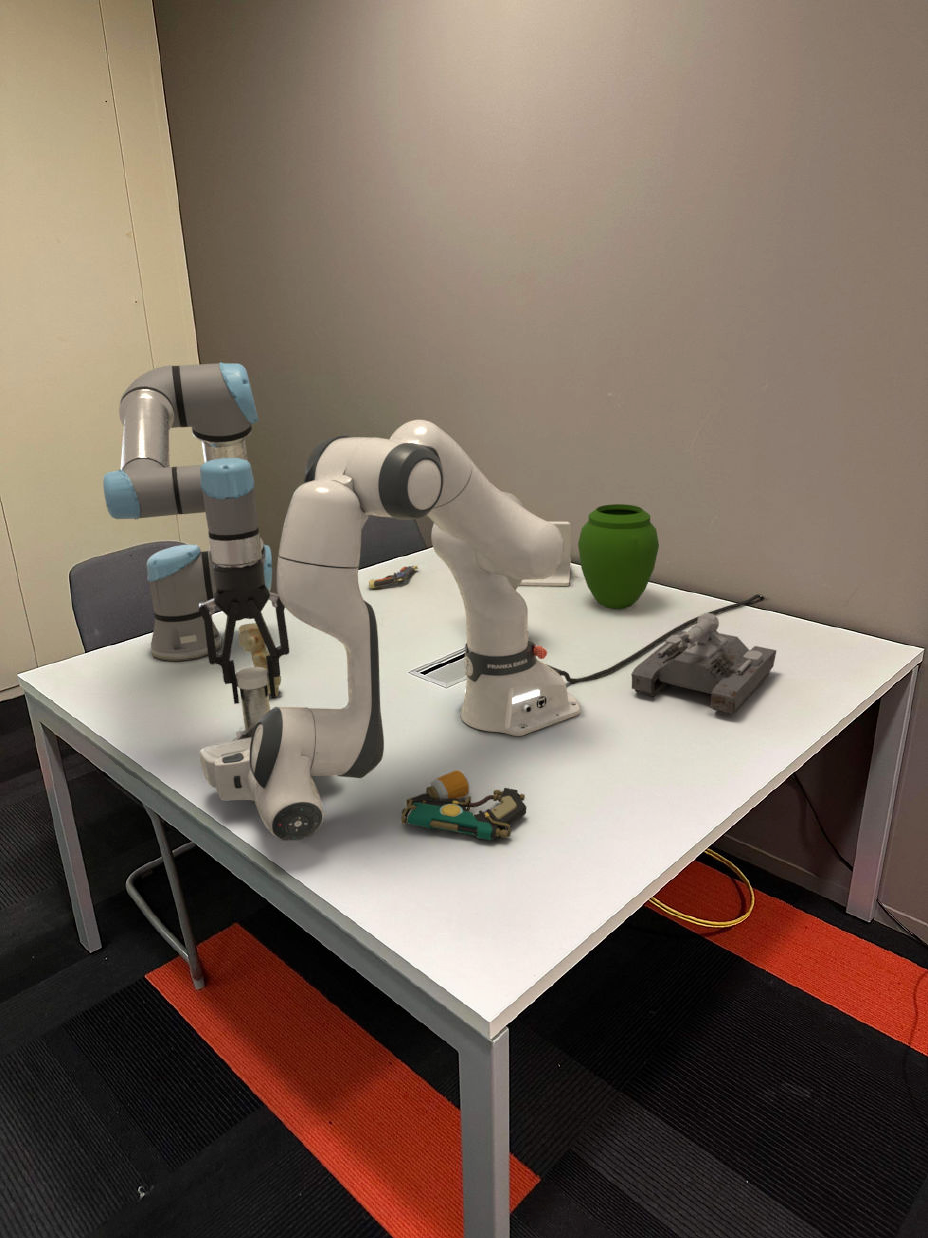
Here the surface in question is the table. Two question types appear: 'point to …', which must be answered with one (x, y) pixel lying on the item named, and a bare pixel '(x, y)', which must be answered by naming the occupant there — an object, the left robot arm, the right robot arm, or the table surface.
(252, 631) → the sculpture
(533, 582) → the tablet stand
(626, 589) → the vase
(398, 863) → the table surface
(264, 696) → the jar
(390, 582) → the toy gun
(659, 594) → the table surface
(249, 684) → the lid
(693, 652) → the toy
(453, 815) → the spray gun
